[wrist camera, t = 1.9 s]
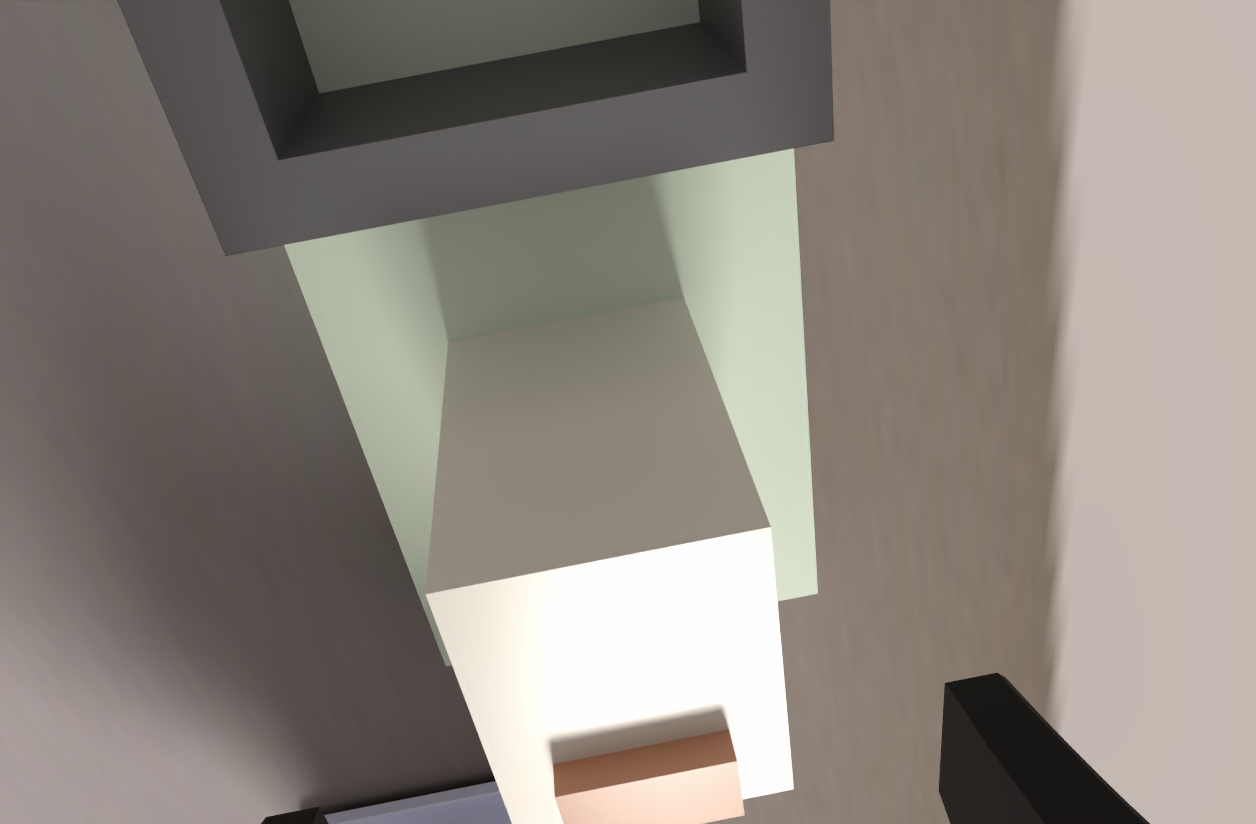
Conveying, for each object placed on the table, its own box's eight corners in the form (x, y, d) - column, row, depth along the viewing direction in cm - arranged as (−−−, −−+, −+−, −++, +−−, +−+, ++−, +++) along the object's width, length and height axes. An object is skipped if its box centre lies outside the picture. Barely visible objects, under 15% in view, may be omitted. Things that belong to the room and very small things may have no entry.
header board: (798, 546, 21) (863, 706, 17) (448, 615, 21) (438, 790, 17) (706, -833, 10) (830, -1209, 6) (-33, -704, 10) (-353, -1011, 6)
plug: (713, 522, 18) (803, 820, 13) (513, 560, 18) (520, 877, 13) (683, 296, 16) (781, 556, 10) (448, 341, 16) (422, 626, 10)
